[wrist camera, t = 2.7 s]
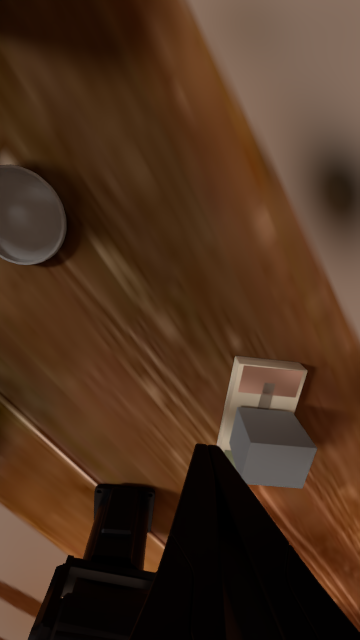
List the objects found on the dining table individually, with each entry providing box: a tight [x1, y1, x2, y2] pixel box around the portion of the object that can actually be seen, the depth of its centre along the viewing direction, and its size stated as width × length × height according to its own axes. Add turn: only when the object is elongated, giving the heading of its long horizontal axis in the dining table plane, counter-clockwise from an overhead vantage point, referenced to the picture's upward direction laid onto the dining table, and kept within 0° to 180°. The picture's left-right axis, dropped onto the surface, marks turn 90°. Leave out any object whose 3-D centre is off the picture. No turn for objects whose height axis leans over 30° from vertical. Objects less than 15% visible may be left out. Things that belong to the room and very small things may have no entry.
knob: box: [229, 407, 317, 488], centre depth 20 cm, size 4×5×4 cm
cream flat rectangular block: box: [217, 356, 307, 469], centre depth 23 cm, size 12×6×2 cm, turn 173°
